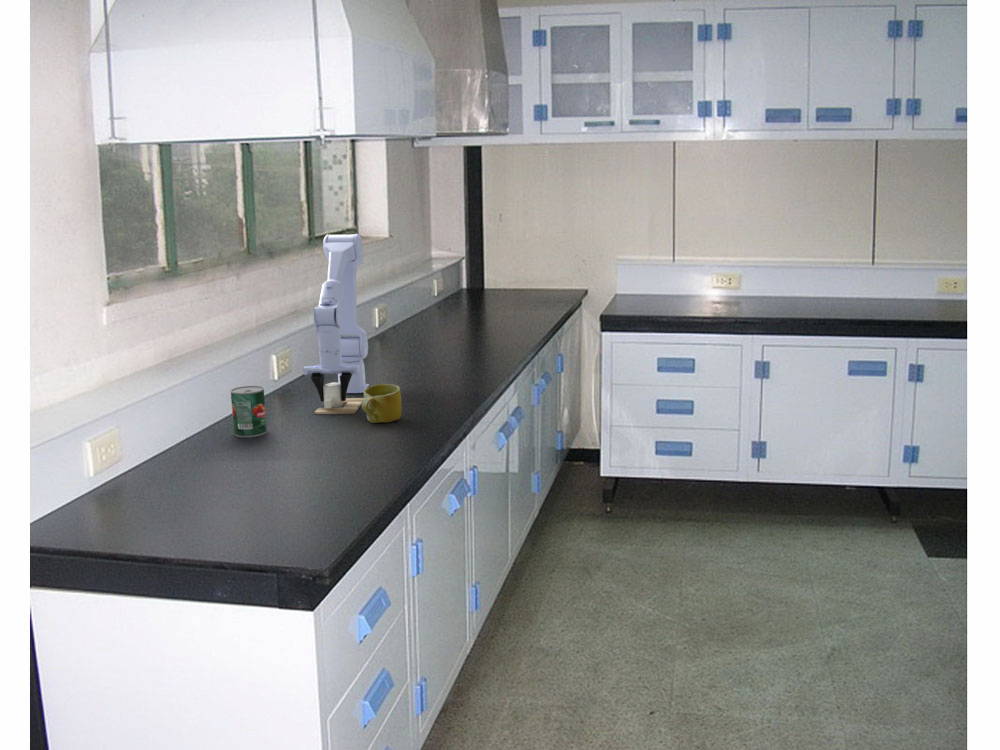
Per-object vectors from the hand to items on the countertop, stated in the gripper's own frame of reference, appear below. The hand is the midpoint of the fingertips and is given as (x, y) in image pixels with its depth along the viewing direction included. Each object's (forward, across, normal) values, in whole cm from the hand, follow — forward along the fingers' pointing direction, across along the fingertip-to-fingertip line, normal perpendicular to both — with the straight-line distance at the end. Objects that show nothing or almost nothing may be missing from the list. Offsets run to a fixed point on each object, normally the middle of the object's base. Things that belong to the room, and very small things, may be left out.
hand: (333, 400), depth 275 cm
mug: (+2, +15, -15) cm, 21 cm away
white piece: (+2, 0, -2) cm, 2 cm away
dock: (+2, +2, 0) cm, 3 cm away
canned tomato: (+2, -15, -25) cm, 29 cm away
